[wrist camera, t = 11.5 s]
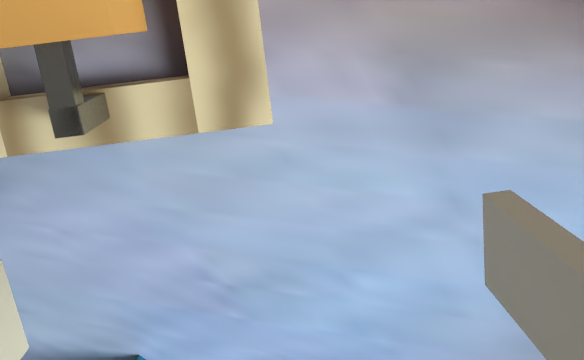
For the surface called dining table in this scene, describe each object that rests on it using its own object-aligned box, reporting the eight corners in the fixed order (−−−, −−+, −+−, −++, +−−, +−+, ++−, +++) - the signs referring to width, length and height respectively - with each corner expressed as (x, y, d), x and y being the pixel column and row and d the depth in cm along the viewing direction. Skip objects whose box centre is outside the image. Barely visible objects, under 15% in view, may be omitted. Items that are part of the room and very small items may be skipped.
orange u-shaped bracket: (16, 46, 38) (-55, 55, 29) (5, 1, 37) (-73, -3, 29) (147, 30, 38) (114, 34, 30) (139, -15, 37) (102, -24, 29)
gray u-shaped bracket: (97, 113, 42) (55, 138, 33) (52, -87, 38) (-9, -118, 29) (120, 110, 42) (84, 135, 33) (78, -90, 38) (25, -122, 29)
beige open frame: (-46, 156, 42) (-69, 165, 39) (-124, -98, 37) (-157, -108, 34) (272, 116, 43) (273, 123, 40) (239, -140, 38) (238, -153, 35)
